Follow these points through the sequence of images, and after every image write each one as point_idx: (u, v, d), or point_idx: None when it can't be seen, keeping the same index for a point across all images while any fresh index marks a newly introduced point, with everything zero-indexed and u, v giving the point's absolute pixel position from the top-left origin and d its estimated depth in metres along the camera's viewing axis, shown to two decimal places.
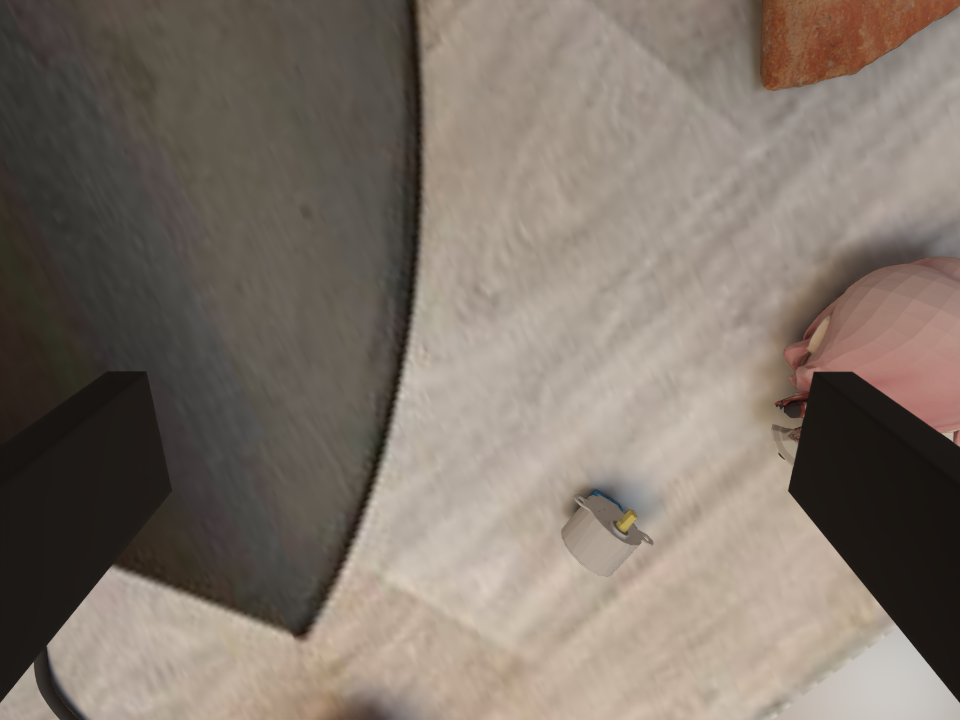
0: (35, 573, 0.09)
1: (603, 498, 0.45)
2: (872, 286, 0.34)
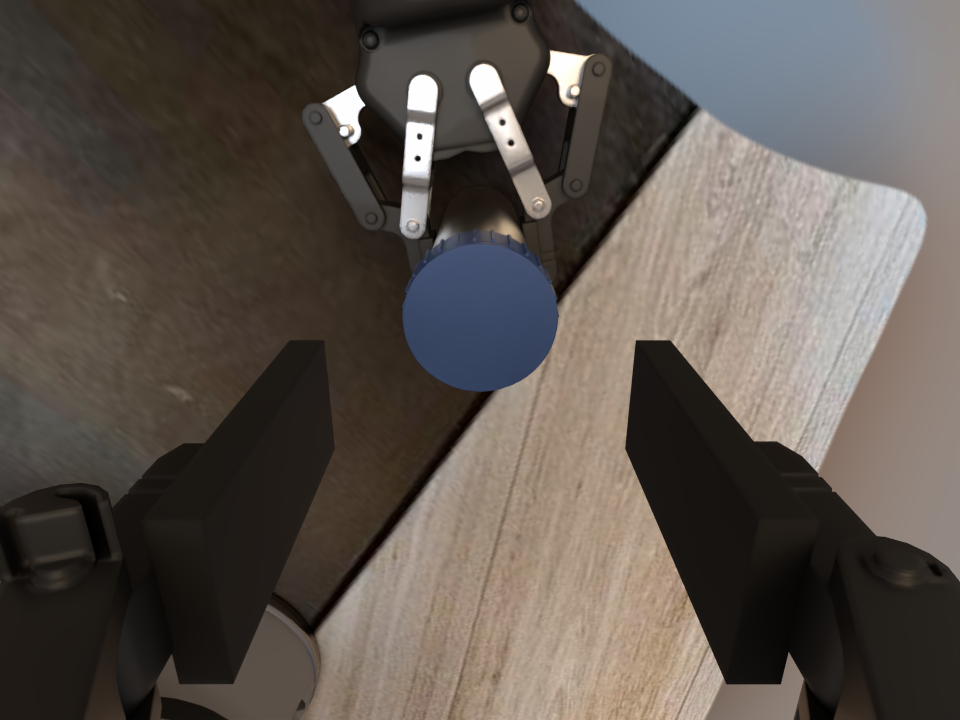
0: (280, 501, 0.11)
1: None
2: None
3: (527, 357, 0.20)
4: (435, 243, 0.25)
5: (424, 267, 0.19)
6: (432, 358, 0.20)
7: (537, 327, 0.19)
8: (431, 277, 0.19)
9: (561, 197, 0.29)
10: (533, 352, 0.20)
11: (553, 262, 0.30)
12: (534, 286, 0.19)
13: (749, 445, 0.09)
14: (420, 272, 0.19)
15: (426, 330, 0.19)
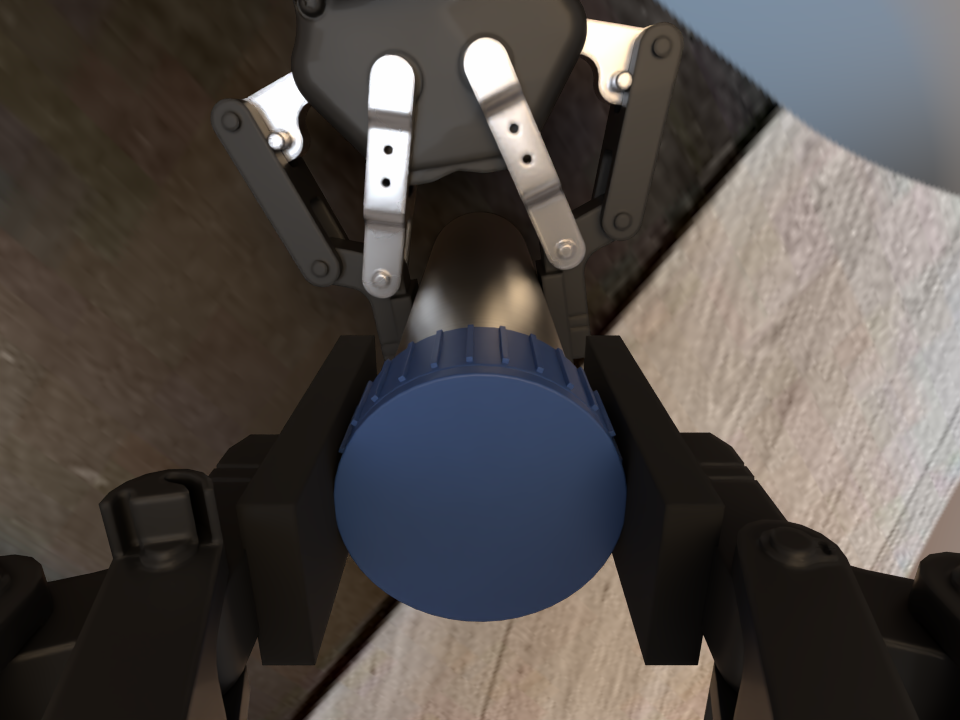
0: None
1: None
2: None
3: (568, 568, 0.11)
4: (409, 319, 0.16)
5: (371, 415, 0.10)
6: (391, 569, 0.11)
7: (588, 519, 0.10)
8: (385, 433, 0.10)
9: (599, 237, 0.20)
10: (579, 560, 0.11)
11: (585, 329, 0.21)
12: (585, 449, 0.10)
13: (673, 435, 0.10)
14: (363, 425, 0.10)
15: (379, 524, 0.10)
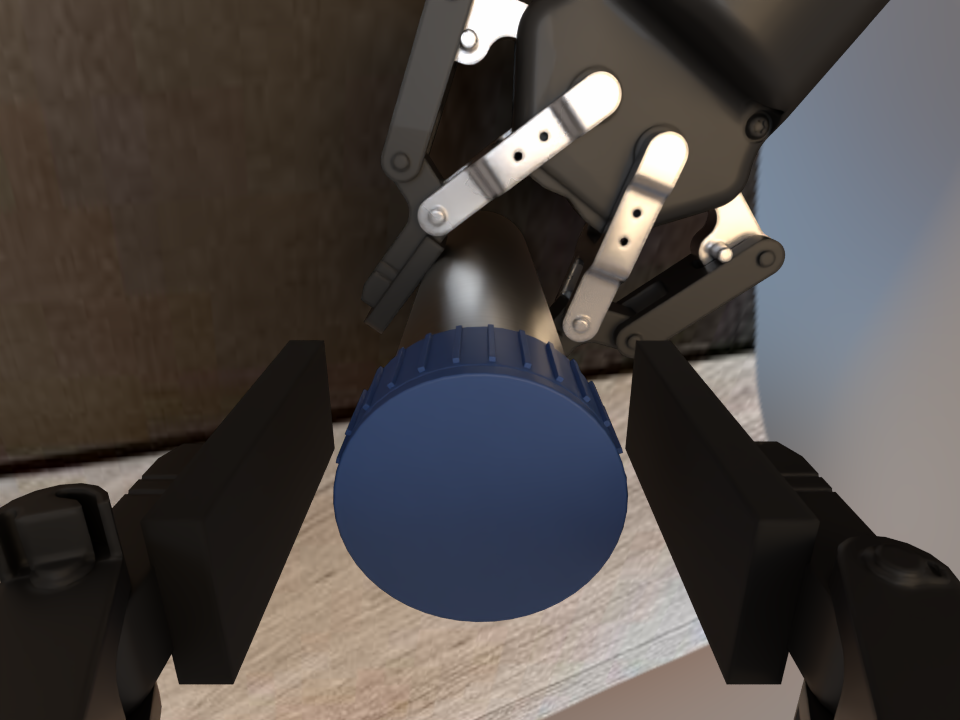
0: (280, 501, 0.11)
1: None
2: None
3: (583, 453, 0.10)
4: (463, 278, 0.16)
5: (355, 560, 0.11)
6: (520, 597, 0.11)
7: (529, 419, 0.10)
8: (375, 556, 0.11)
9: (606, 336, 0.21)
10: (577, 440, 0.10)
11: None
12: (445, 403, 0.09)
13: (749, 445, 0.09)
14: (361, 569, 0.11)
15: (466, 590, 0.11)
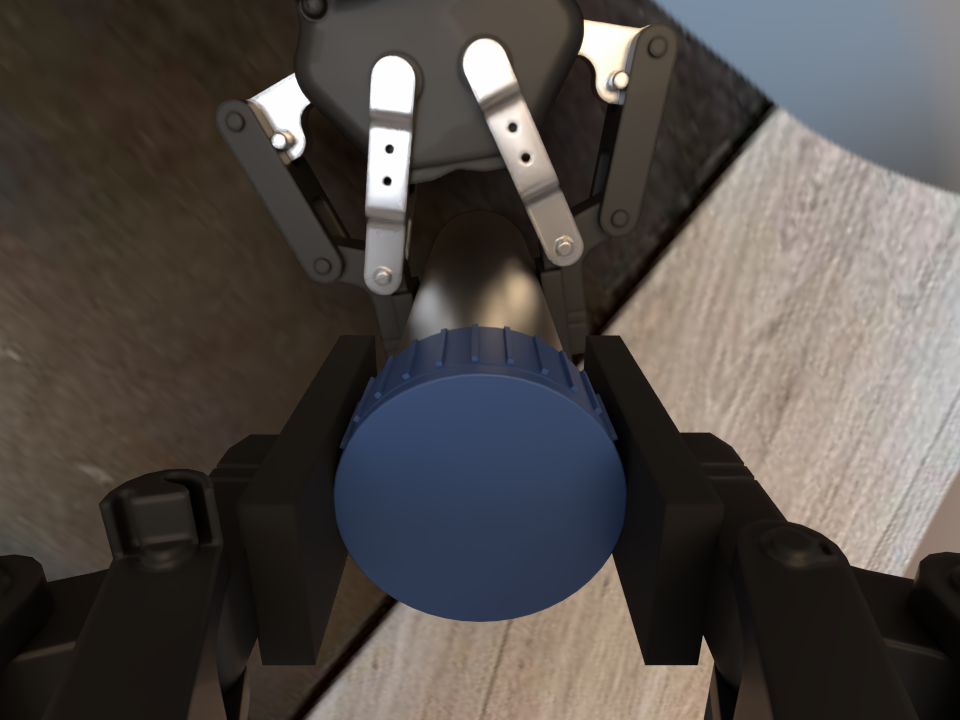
0: None
1: None
2: None
3: (503, 405, 0.09)
4: (411, 315, 0.16)
5: (440, 615, 0.11)
6: (588, 546, 0.10)
7: (437, 417, 0.10)
8: (450, 602, 0.11)
9: (597, 234, 0.20)
10: (488, 400, 0.09)
11: (584, 325, 0.21)
12: (369, 459, 0.10)
13: (673, 435, 0.10)
14: None
15: (542, 574, 0.11)
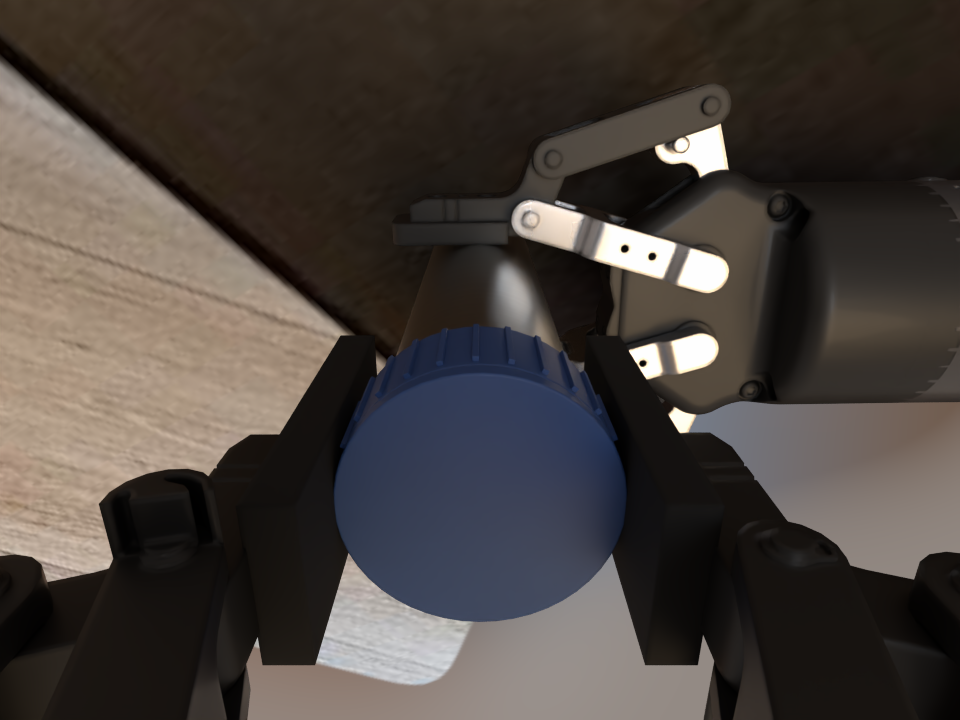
0: None
1: None
2: None
3: (504, 405, 0.09)
4: (532, 294, 0.16)
5: (440, 615, 0.11)
6: (587, 546, 0.10)
7: (438, 417, 0.10)
8: (449, 602, 0.11)
9: None
10: (488, 400, 0.09)
11: None
12: (369, 458, 0.10)
13: (673, 434, 0.10)
14: None
15: (541, 574, 0.11)
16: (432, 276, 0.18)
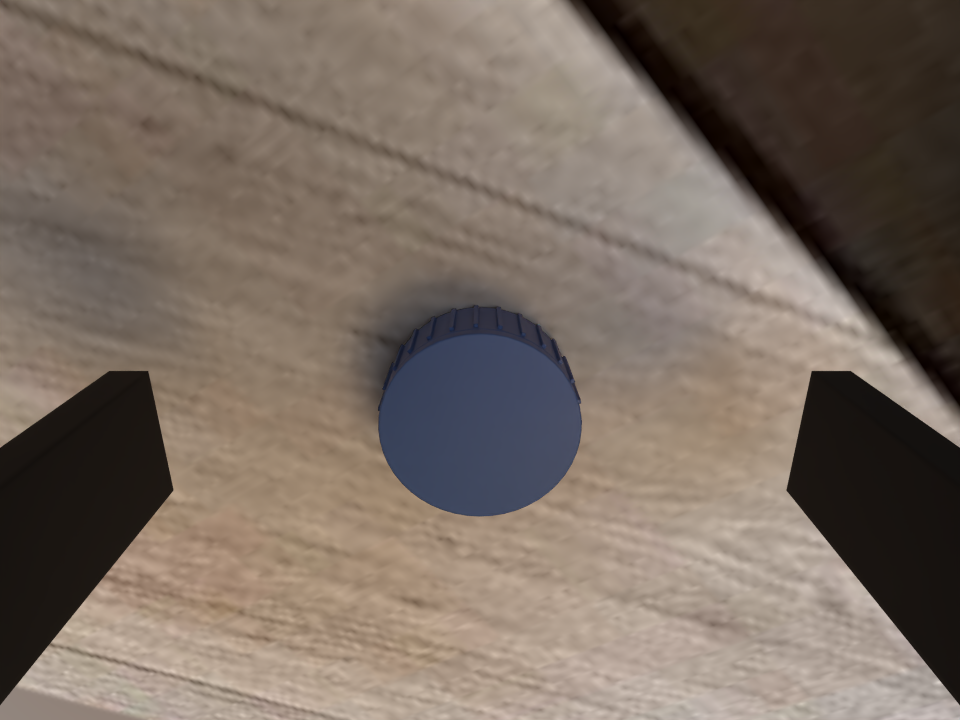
0: (37, 571, 0.09)
1: None
2: None
3: (495, 355, 0.14)
4: None
5: (452, 511, 0.16)
6: (555, 458, 0.15)
7: (450, 364, 0.14)
8: (458, 501, 0.15)
9: None
10: (485, 352, 0.14)
11: None
12: (404, 394, 0.14)
13: None
14: None
15: (523, 479, 0.15)
16: None
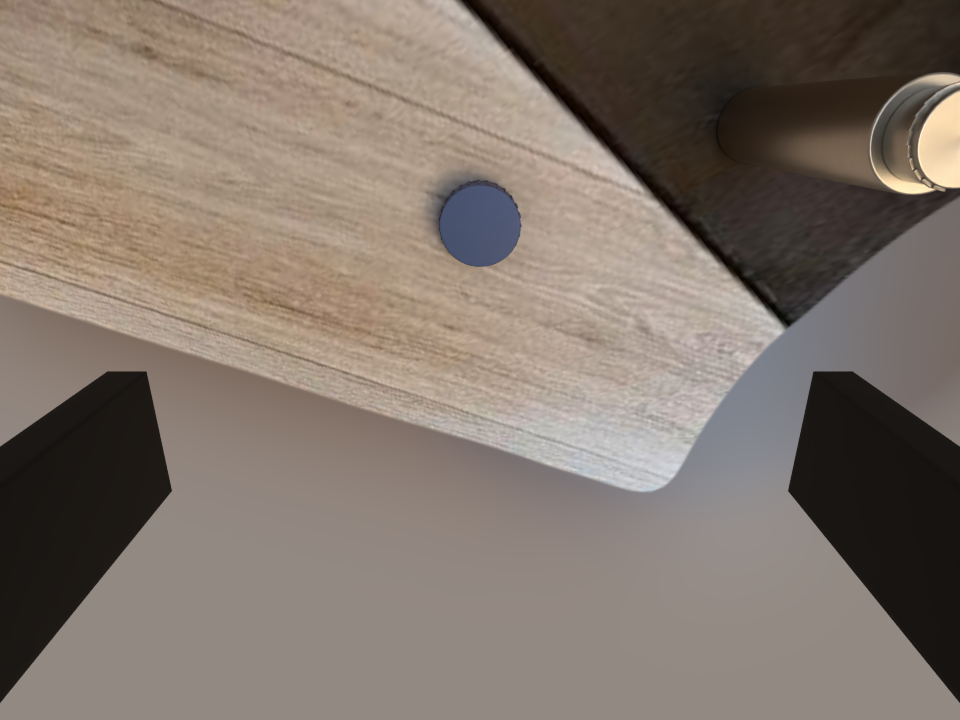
0: (35, 572, 0.09)
1: None
2: None
3: (486, 194, 0.36)
4: None
5: (468, 264, 0.38)
6: (510, 239, 0.37)
7: (468, 198, 0.36)
8: (471, 259, 0.38)
9: None
10: (482, 192, 0.36)
11: None
12: (450, 211, 0.37)
13: None
14: (471, 265, 0.38)
15: (497, 249, 0.37)
16: (812, 92, 0.28)
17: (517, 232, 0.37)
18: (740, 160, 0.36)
